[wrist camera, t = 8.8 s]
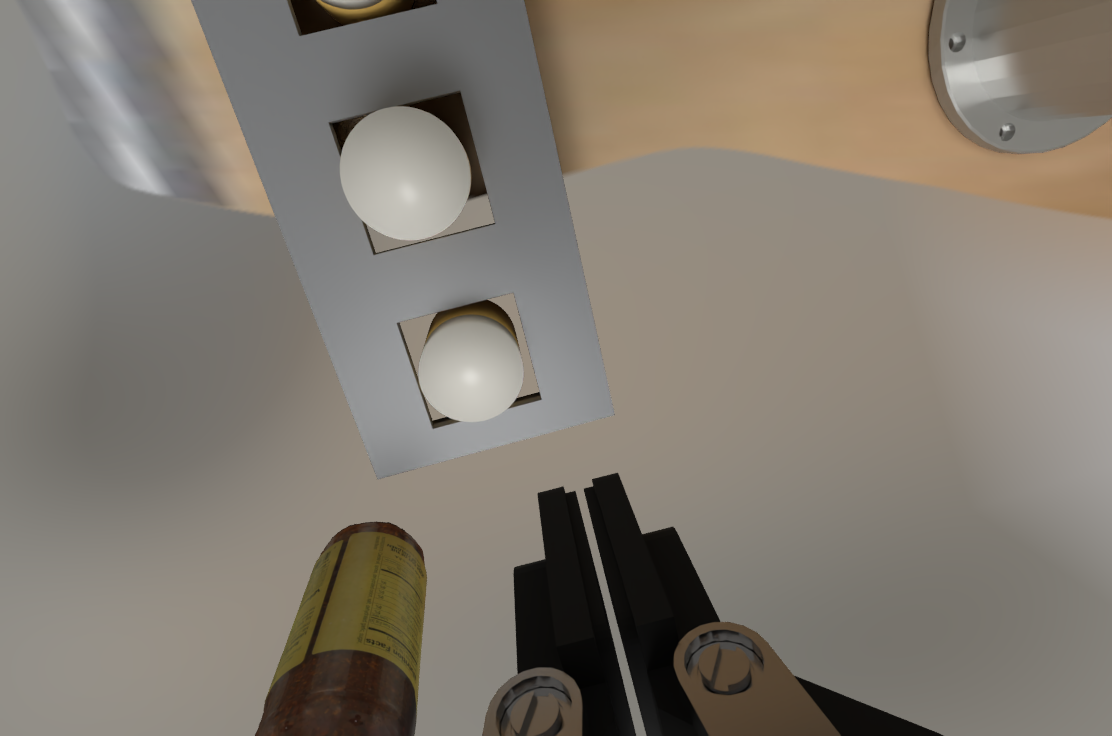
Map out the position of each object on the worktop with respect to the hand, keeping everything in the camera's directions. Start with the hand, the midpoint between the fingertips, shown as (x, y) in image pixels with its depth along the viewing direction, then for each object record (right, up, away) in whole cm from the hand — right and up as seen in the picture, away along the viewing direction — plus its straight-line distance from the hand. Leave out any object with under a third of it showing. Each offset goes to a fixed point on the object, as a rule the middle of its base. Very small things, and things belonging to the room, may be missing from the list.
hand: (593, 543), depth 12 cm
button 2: (-5, +5, +19) cm, 20 cm away
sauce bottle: (-11, -8, +23) cm, 27 cm away
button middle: (-7, +12, +15) cm, 20 cm away
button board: (-7, +13, +16) cm, 22 cm away
